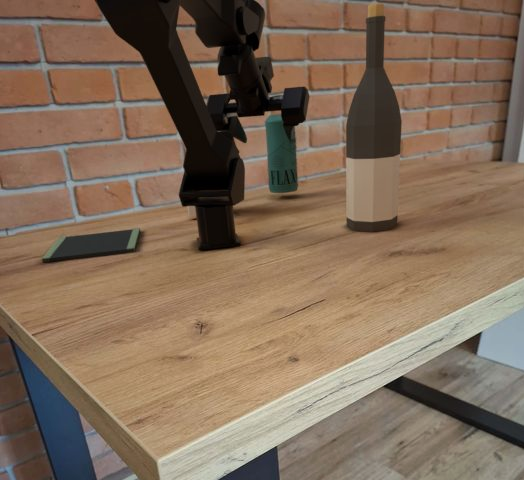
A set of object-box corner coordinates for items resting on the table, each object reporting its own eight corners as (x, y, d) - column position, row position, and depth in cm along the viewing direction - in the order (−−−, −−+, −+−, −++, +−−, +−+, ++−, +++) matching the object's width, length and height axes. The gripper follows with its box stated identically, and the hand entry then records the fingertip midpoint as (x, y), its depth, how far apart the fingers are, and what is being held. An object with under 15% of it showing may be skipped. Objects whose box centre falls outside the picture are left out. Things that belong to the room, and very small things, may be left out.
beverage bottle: (267, 201, 109) (259, 96, 100) (271, 195, 114) (265, 96, 106) (297, 199, 107) (292, 94, 99) (300, 193, 113) (296, 93, 104)
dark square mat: (135, 251, 79) (134, 247, 79) (42, 262, 78) (41, 258, 78) (140, 231, 92) (139, 227, 92) (61, 240, 90) (60, 236, 90)
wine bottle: (346, 232, 80) (345, 3, 66) (346, 221, 87) (346, 12, 73) (399, 230, 78) (409, -4, 65) (395, 219, 85) (404, 5, 72)
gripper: (304, 31, 84) (320, 102, 98) (201, 44, 90) (230, 109, 104) (294, 85, 81) (312, 150, 95) (188, 95, 87) (220, 155, 101)
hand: (268, 139), depth 99 cm, fingers open, 9 cm apart
